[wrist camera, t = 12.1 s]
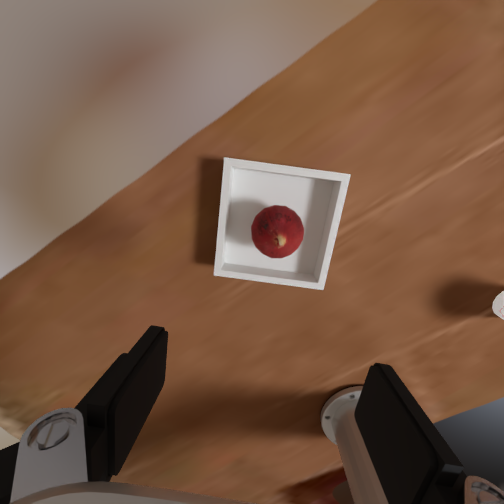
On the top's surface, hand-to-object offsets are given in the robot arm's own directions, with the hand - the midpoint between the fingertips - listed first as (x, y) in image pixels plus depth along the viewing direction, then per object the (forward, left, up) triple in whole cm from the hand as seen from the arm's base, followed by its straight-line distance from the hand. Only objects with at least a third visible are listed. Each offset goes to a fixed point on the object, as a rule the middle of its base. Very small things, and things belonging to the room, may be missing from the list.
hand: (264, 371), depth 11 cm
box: (-1, -4, -21) cm, 22 cm away
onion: (-1, -3, -21) cm, 21 cm away
